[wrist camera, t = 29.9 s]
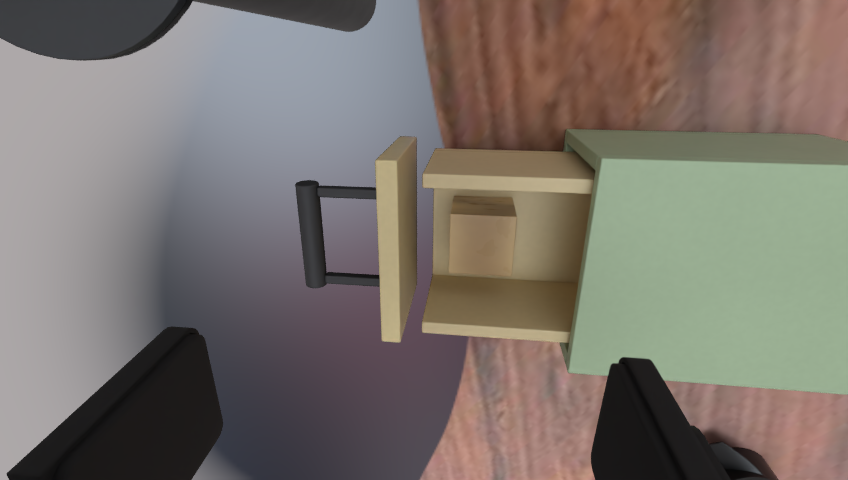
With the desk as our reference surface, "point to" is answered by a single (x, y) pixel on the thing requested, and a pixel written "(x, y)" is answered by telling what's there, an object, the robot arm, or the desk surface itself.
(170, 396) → the robot arm
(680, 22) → the desk surface
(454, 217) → the block
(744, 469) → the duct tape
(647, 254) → the box
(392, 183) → the drawer
